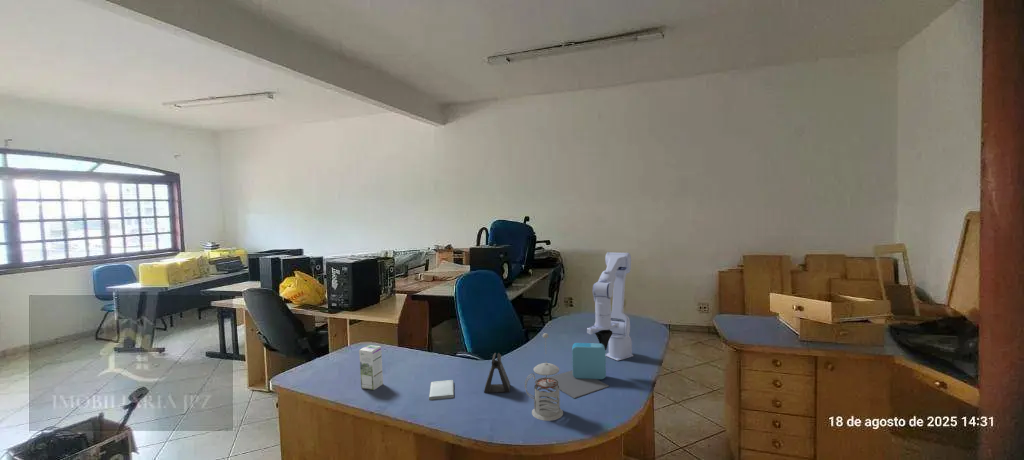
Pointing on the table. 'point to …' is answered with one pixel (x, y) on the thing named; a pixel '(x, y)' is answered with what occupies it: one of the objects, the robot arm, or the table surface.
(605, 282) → the robot arm
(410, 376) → the table surface
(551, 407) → the french press
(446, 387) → the hard drive
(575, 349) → the data package
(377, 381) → the syrup box
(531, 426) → the table surface
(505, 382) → the phone stand
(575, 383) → the mat
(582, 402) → the table surface
